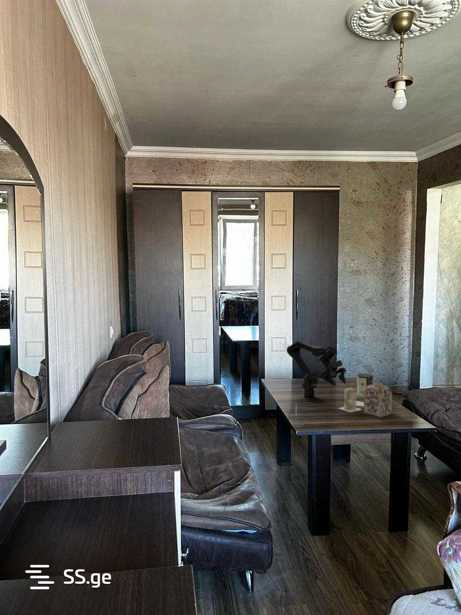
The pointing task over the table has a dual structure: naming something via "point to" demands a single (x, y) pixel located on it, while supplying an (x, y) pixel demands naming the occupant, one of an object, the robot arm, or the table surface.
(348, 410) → the white tile
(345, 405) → the birch block
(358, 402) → the coaster
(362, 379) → the coffee can
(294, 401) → the table surface
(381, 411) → the decorative jar
